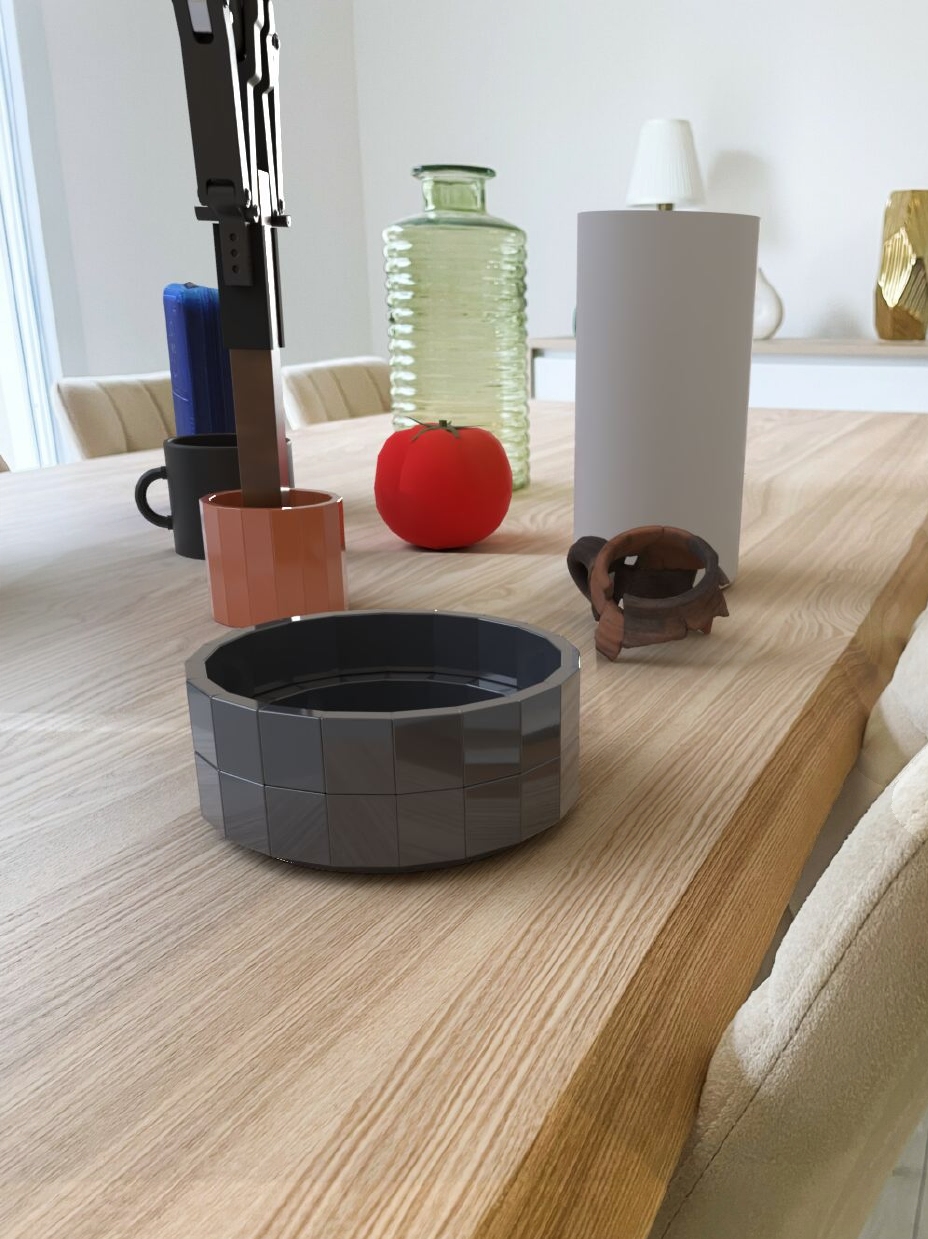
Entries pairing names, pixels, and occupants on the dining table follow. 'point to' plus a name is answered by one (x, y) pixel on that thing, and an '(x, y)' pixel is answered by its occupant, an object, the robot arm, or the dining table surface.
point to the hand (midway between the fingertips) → (254, 347)
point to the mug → (194, 484)
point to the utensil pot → (274, 557)
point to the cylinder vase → (664, 373)
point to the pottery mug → (648, 586)
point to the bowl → (385, 736)
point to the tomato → (443, 484)
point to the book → (198, 361)
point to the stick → (261, 399)
